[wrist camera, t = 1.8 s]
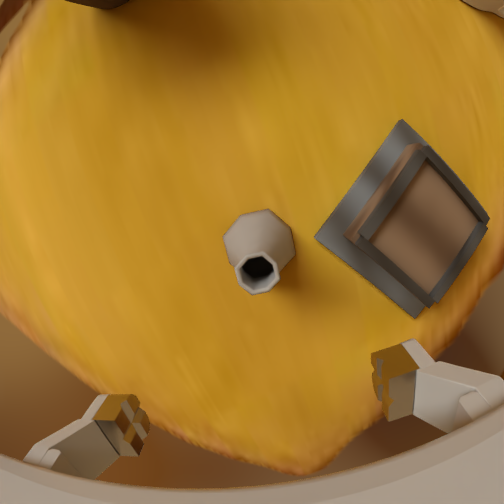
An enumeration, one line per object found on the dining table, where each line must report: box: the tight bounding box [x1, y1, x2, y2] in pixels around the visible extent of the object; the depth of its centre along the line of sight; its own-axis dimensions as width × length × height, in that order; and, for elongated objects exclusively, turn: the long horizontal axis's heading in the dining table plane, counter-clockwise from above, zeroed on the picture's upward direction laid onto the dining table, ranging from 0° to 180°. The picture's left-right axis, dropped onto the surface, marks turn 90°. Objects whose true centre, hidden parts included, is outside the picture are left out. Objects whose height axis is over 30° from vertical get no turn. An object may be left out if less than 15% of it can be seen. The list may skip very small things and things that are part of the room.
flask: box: [223, 209, 296, 295], centre depth 27 cm, size 7×7×10 cm
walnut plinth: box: [314, 119, 490, 319], centre depth 28 cm, size 16×16×5 cm
